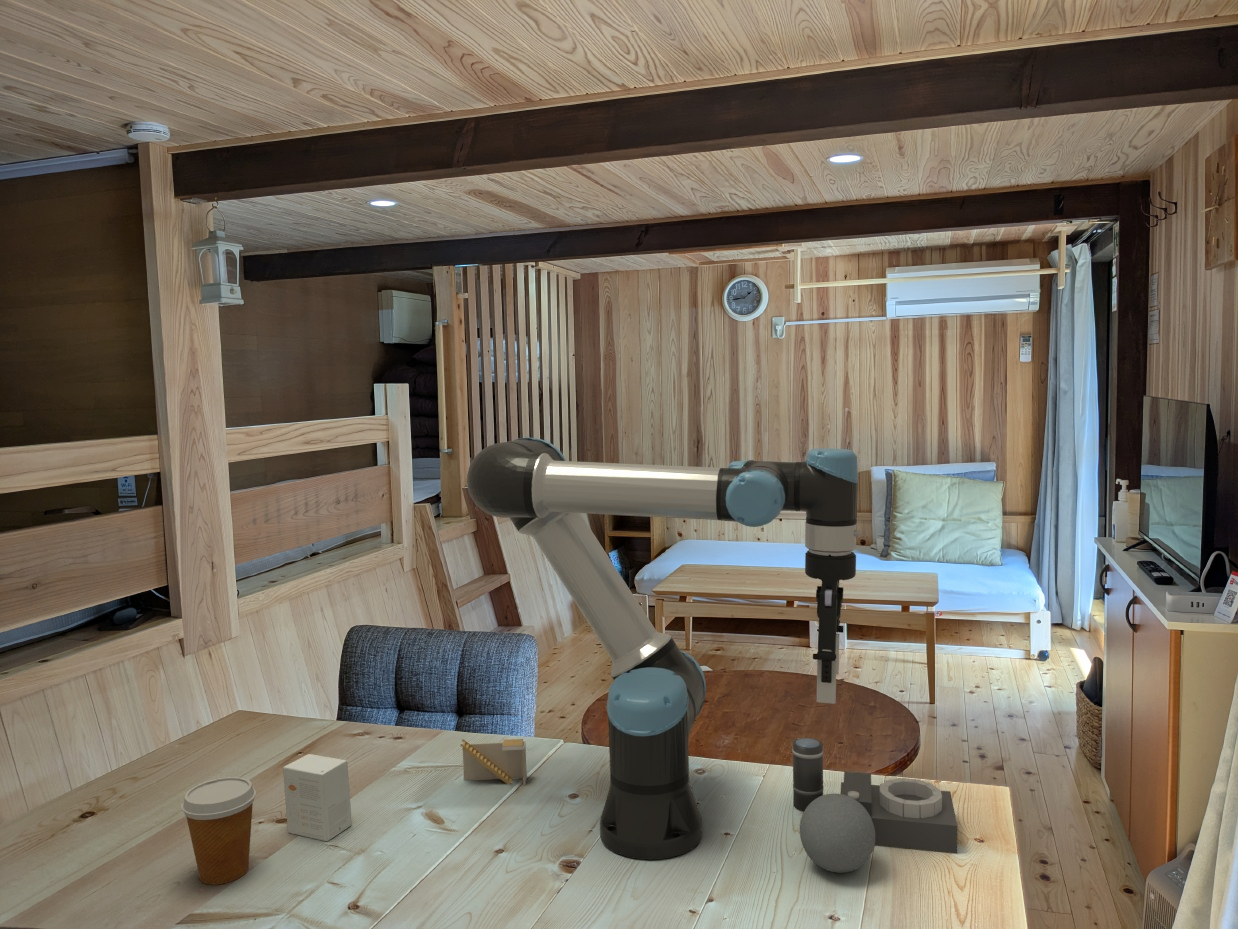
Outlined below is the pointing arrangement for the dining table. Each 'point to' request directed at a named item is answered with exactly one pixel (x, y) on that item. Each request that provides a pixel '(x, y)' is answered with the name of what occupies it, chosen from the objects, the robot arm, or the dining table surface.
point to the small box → (317, 797)
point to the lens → (807, 771)
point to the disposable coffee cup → (220, 827)
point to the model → (495, 760)
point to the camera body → (906, 812)
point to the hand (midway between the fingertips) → (828, 687)
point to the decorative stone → (837, 833)
